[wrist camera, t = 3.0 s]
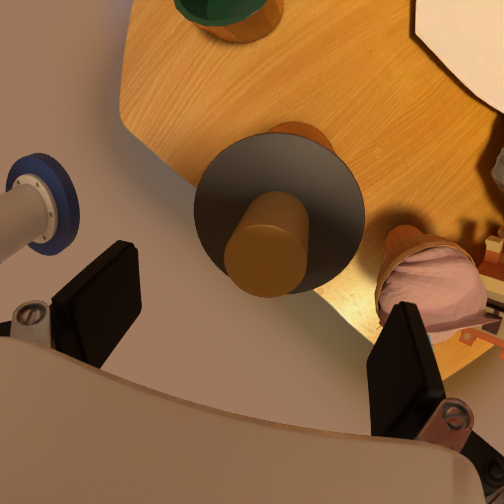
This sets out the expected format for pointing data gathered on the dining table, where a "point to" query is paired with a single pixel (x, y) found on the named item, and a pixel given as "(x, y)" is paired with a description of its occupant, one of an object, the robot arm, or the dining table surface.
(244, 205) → the lid
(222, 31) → the canister
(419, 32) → the plate
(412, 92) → the dining table surface
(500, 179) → the stone
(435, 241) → the ice cream cone
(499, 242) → the toy character
